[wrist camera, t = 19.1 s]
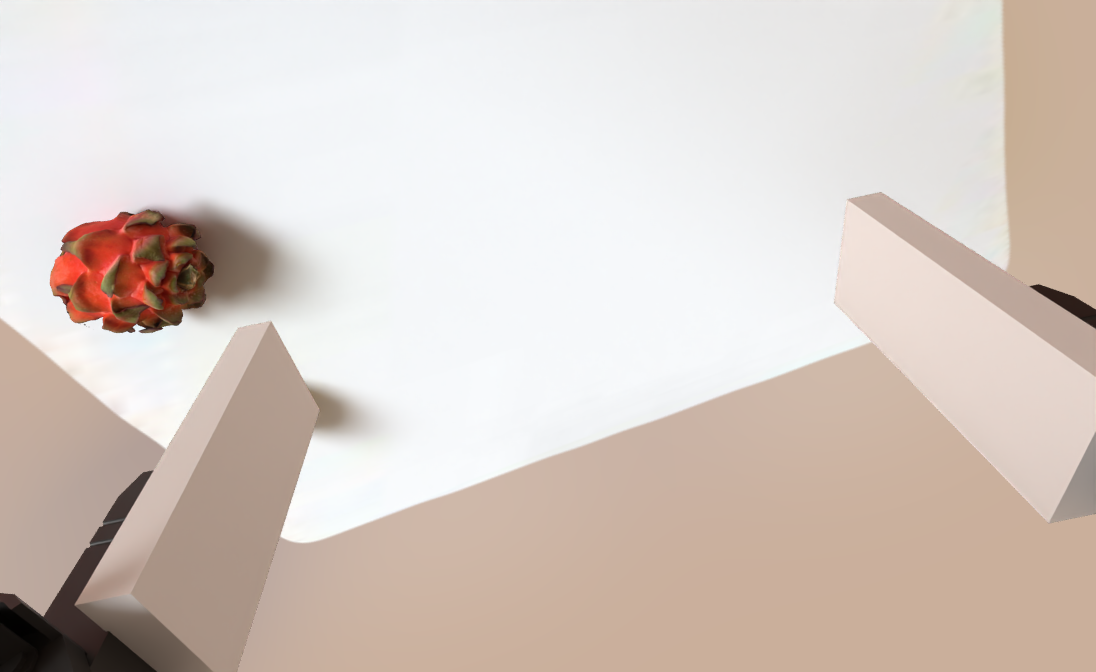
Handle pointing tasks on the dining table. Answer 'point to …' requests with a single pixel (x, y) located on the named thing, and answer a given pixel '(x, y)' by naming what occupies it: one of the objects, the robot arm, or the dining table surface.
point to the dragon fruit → (131, 272)
